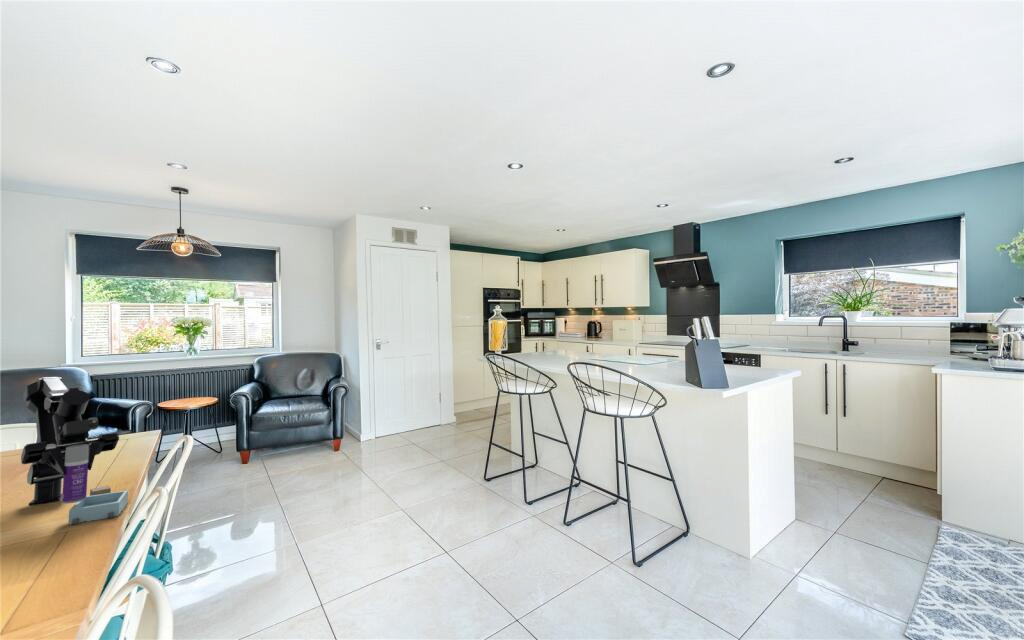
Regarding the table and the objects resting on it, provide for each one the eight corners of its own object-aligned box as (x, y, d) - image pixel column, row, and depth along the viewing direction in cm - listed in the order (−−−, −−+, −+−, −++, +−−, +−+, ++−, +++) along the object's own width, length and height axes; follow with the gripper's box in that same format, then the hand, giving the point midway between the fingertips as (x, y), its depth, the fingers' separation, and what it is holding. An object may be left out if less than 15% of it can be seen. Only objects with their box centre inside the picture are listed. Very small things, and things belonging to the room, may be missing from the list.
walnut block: (89, 502, 129) (90, 488, 129) (107, 498, 132) (107, 485, 132) (91, 504, 126) (92, 491, 126) (109, 500, 129) (110, 487, 130)
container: (72, 503, 113) (75, 448, 114) (56, 503, 113) (60, 448, 114) (91, 497, 118) (94, 444, 119) (75, 497, 118) (79, 443, 119)
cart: (83, 508, 123) (83, 495, 123) (128, 501, 129) (128, 489, 129) (66, 526, 111) (67, 512, 111) (117, 517, 116) (118, 503, 117)
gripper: (26, 414, 111) (32, 462, 105) (118, 405, 127) (129, 446, 120) (18, 440, 115) (24, 488, 108) (109, 428, 131) (119, 469, 124)
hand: (77, 471), depth 115 cm, fingers closed on container, 5 cm apart
